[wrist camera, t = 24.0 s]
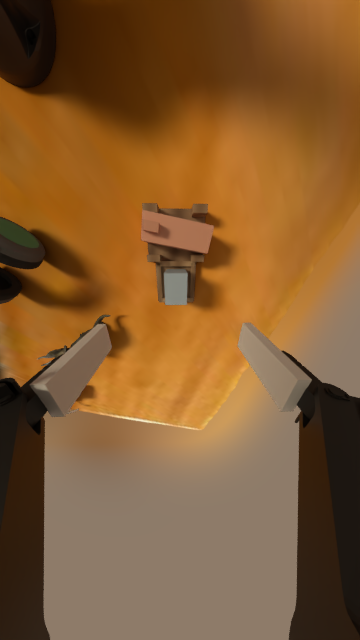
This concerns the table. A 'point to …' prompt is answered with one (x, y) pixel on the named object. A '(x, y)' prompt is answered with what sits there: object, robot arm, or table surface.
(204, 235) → the pink slab with ridge
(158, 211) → the jig
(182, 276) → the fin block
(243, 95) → the table surface
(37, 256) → the headphones
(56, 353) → the dinosaur figurine
